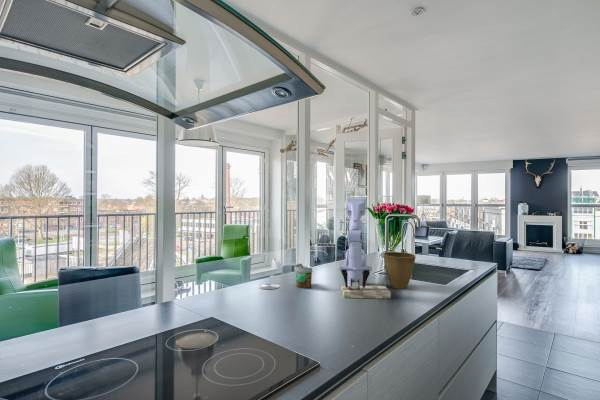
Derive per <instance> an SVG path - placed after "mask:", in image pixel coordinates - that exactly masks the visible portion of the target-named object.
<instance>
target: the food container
mask: <svg viewBox="0 0 600 400" xmlns="http://www.w3.org/2000/svg"><path fill="white" fill-rule="evenodd" d="M293 270H294V271H295V281H296V288H298V289H299V288H300V289H306V290H307V289H309V290H310V289H312V277H313V276H312V275H313V274H312V273H313V267H308V266H304V265H303V264H302V263H298V264H295V266H294V269H293Z"/></svg>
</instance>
